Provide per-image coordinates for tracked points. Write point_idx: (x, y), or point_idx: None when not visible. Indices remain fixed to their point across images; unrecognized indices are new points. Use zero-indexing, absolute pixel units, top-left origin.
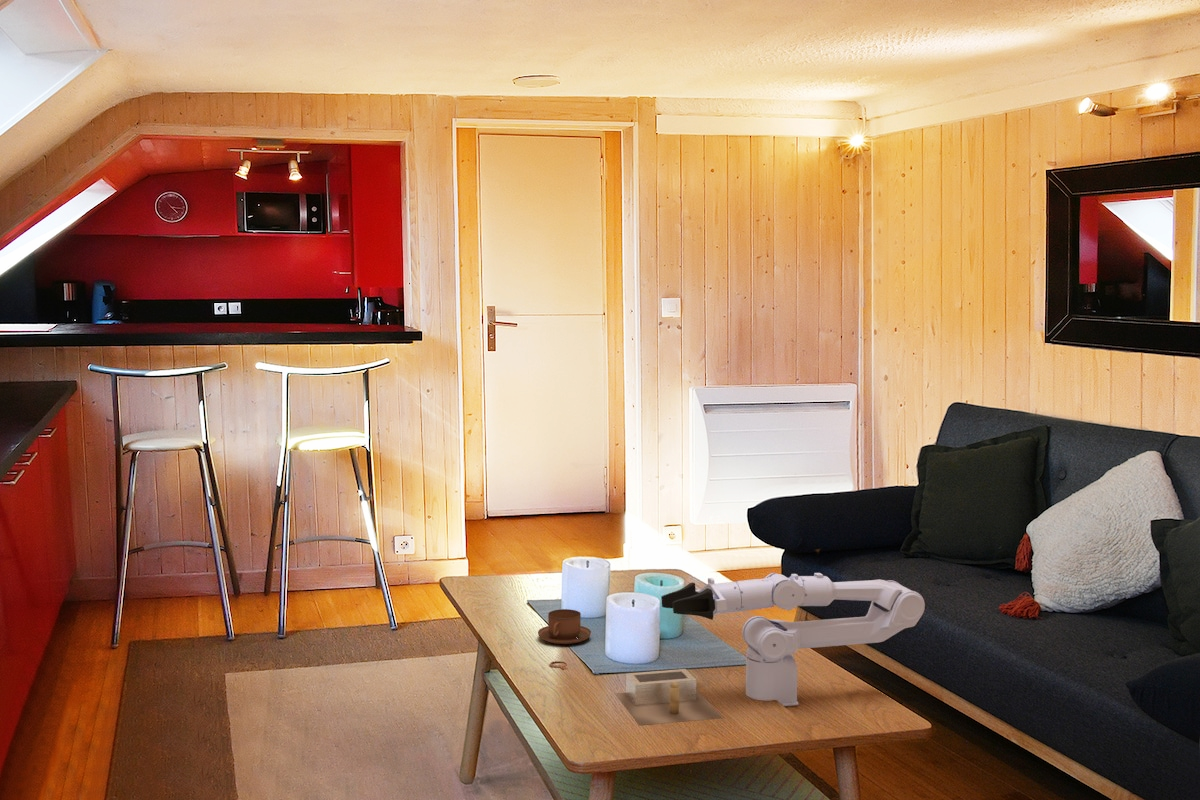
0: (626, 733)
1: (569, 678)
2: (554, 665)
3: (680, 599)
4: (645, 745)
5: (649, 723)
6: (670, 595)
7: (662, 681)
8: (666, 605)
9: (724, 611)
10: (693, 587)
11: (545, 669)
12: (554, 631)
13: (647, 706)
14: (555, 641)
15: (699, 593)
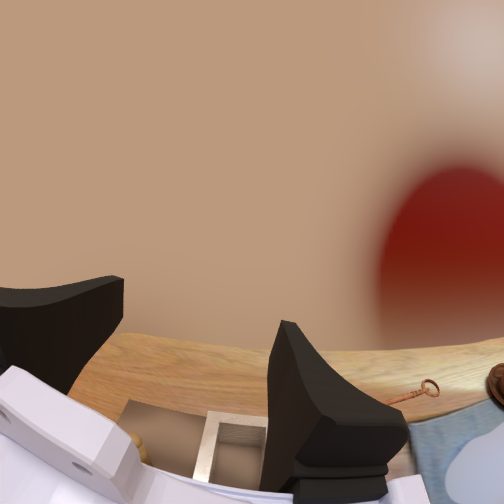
0: (142, 396)
1: (384, 396)
2: (423, 383)
3: (99, 281)
4: (95, 392)
5: (126, 412)
6: (283, 341)
7: (205, 458)
8: (270, 361)
9: None
10: (308, 427)
11: (413, 376)
12: (493, 369)
13: (196, 445)
14: (488, 380)
15: (32, 301)
